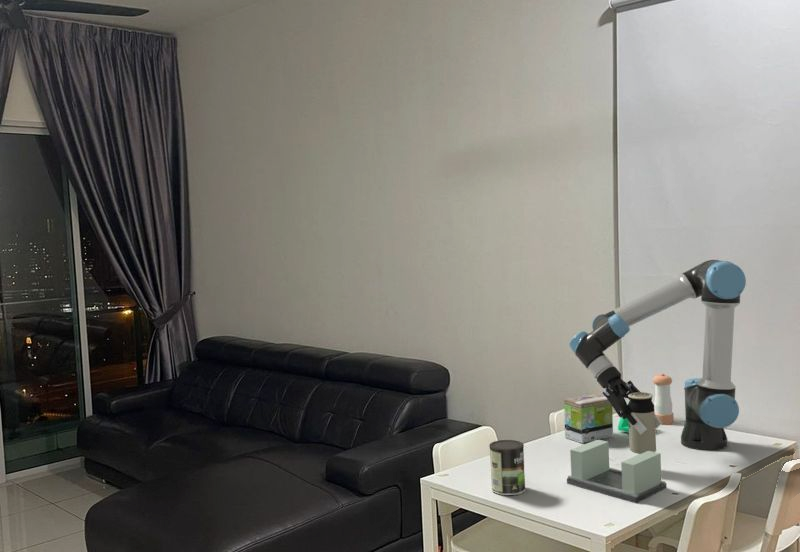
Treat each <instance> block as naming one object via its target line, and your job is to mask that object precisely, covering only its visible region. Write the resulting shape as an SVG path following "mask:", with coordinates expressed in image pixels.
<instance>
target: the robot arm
mask: <svg viewBox="0 0 800 552" xmlns="http://www.w3.org/2000/svg"><path fill="white" fill-rule="evenodd" d="M679 275H680V276H679V278H677V279H675V280H672V281H670V282H668V283H666V284H665V285H663V286H660V287H659V288H657V289H654V290H651V291H650V292H647V293H646V294H644V295H642V296H640V297H637V298H635V299H633V300H631V301H629V302H627V303H625V304H623V305H621V306H618V307H617V308H615V309H613V310H611V311H608V312H606V313H603V314H598V315H596V316H595V317H593V319H592V322H591V327H592V331H591V332H589V333H587V332H586V331H585V330H584V331H579V332H578V333H576V334H575V335H574V336H573V337H571V338H570V339H569V342H568V346H569V348H570V349H571V351H572V352H573V353H574V355H575V356H576V357H577V358H578V360H579V361H580V362H581V364H583V365H584V367H585V368H586V369H587V370H588V371H589V373H590V374H591V375H592V377H593V378H594V379H596V382H597V383H598V384H599V386H600V387H601V388H602V389H604V390H603V392H602V396H604V397H606V398H607V399H608V400H609V402H610V403H611V405H612V409H614V411H615V412H616V414H617V416H618V417H619V418H621V417H622V418H623V419H625V418H627V419H628V421H629V422H630V423H631V424H632V425H633V426H634V427H635V429H636V430H637V431H638V432H639V434H640V435H641V434H643V433H644V432H645V431H646V430H647V428H646V427H645V426H644V425H643V424H642V422H641V421H640V420H639V419H638V418H637V416H636V415H635V414H634V413H631V412H630V409H629V407H628V405H627V403H628V402H627V401H626V399H628V400H629V397H628V395H629V394H630V393H636V392H641V391H640V390H639V389H638V387H636V386H635V385H634V383H633V381H632V380H628V381H627V382H626V381H624V380H623V379H622V373H621V372H620V371H619V369H618V368H617V367H616V366H614V363H613V362H612V361H611V360H610V359H609V357H608V356H607V355H606V354H605V353H604V352H605V351H607V349H609V348H610V347H611V346H612V345H615V343H617V342H618V341H619V340H621V339H623V338H624V337H626V336H625V335H627V334H628V333H629V332H630V330H631V329H630V327H632V326H633V325H635V324H637V323H639V322H642V321H644V320H646V319H648V318H650V317H652V316H654V315H656V314H659V313H661V312H663V311H664V310H665V311H666V310H667V309H669V308H671V307H673V306H676V305H677V304H679V303H683V301H686V300H688V299H693V300H695V299H697V298H699V297H701V299H700V301H701V303H702V304H703V305H704V306H705V316H704V317H705V319H704V338H703V342H704V343H703V359H702V361H703V363H702V378H701V377H699V378H688V379H686V380H684V388H683V390H684V410H685V413H684V415H685V422H684V426H683V429H682V431H681V435H680V443H681V445H682V446H684V447H687V448H690V449H694V450H695V449H696V450H703V451H716V450H721V449H726V448H727V447H728V445H729V442H728V436H727V434H726V430H725V429H724V428H727V427H729V426H731V425H732V424H734V423H735V422H736V421H737V419H738V418H739V414H740V407H739V404H738V402H737V400H736V387H737V386H736V385H735V384H734V383H733V382H732V361H733V344H734V341H733V340H734V326H735V325H734V324H735V321H734V320H735V308H736V307H738V306H739V305H740V304H741V294H742V292H743V291H744V290H745V288H746V286H747V279H746V275H745V273H744V271H743V270H742V269H741V267H740V266H739V265H737V264H735V263H733V262H730V261H727V260H719V259H710V260H709V259H708V260H706V261H704V262H701V263H699V264H698V265H695V266H694V267H692V268H690V269H689V270H686V271H685V272H683V273H680V274H679ZM630 413H631V414H630ZM661 425H663V424H662V422H661V421H660V420H659V418H658V417H657V416H656V415H655V429H658V428H659V427H661Z"/></svg>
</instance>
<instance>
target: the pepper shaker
mask: <svg viewBox="0 0 800 552" xmlns="http://www.w3.org/2000/svg"><path fill="white" fill-rule="evenodd" d="M652 382H653V384H654V387H655V389H654V390H655V391H654V392H655V395H654V396H655V398H654V403H653V404H654V412H655V415H656V416H657V417H658V418H659V420H660V421H661V422H662V424H661V425H672V424H674V422H675V420H674V412H673V402H672V397H671V385H672V382H673V379H672V377H671V376H669V375H666V374H665V373H663V372H662V373H660V374H658V375H655V376H654V377H653V378H652Z"/></svg>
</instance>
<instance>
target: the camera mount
mask: <svg viewBox="0 0 800 552" xmlns="http://www.w3.org/2000/svg"><path fill="white" fill-rule="evenodd" d="M626 403H627V405H628V403H629V402H626ZM617 431H621V432H625V433H628V434H629V421H628V419H627V418H625V419H623V418H622V417H620V419H619V422H618V425H617Z"/></svg>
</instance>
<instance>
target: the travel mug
mask: <svg viewBox="0 0 800 552" xmlns="http://www.w3.org/2000/svg"><path fill="white" fill-rule="evenodd" d="M653 396H654V395H653V394H652V393H649V392H644V391H642V392H641V391H640V392H636V393H630V394H629V395H628V397H629V399H628V400H629V401H628V402H627V403H628V407H629V409H630V412H631V413H634V414H635V415H636V416H637V418H638V419H639V420H640V421H641V422H642V424H643V425H644V426H645V427H646V428H647V430H646V431H645V432H644V433H643V434H641V435H640V434H639V432H638V431H637V430H636V429H635V427H634V426H633V425H632V424H631V423H630V422H629V433H628V437H629V450H630V451H631V453H634V454H637V455H639V454H642V453H644V452H647V451H652V452H657V438H656V437H657V436H656V428H655V408H654V403H653V400H652V399H653ZM631 413H630V414H631Z"/></svg>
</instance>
